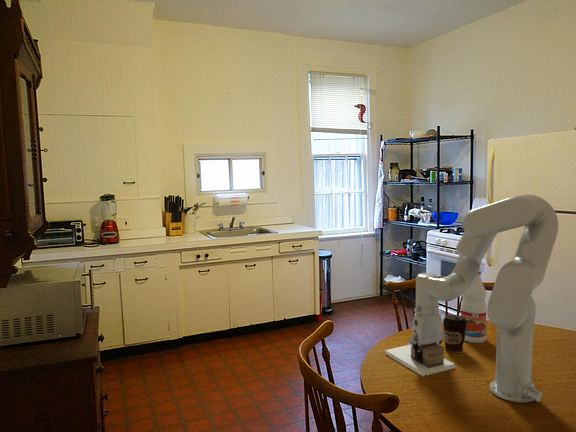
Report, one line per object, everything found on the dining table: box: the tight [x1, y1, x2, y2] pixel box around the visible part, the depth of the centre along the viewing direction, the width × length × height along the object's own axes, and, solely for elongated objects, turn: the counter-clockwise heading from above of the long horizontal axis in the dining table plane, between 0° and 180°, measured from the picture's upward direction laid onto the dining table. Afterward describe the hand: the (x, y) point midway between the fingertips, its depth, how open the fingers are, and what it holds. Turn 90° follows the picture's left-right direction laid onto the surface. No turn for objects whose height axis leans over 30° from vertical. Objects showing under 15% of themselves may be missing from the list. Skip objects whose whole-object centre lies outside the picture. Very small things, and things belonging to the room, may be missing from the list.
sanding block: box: [411, 341, 445, 368], centre depth 149 cm, size 9×6×6 cm
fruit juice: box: [460, 269, 487, 344], centre depth 171 cm, size 9×9×28 cm
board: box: [384, 344, 456, 377], centre depth 153 cm, size 20×14×2 cm
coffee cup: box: [442, 314, 467, 354], centre depth 161 cm, size 9×8×13 cm
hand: (426, 359), depth 149 cm, fingers closed on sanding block, 6 cm apart
